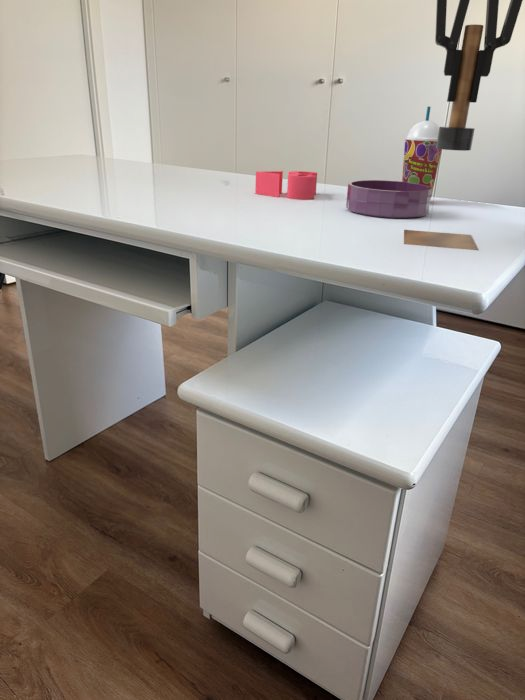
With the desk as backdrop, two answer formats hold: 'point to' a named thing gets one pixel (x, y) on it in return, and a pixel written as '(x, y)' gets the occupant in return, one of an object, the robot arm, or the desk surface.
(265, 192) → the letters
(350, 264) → the desk surface
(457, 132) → the brush
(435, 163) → the smoothie
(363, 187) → the bowl
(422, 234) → the cork mat
